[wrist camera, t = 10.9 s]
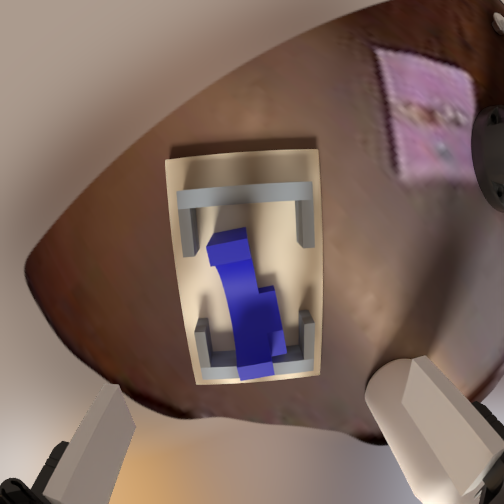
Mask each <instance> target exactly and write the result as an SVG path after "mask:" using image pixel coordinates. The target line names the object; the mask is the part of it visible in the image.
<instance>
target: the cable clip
mask: <svg viewBox="0 0 504 504" xmlns="http://www.w3.org/2000/svg"><path fill="white" fill-rule="evenodd" d="M206 250H207V254H208V258H209V263H210V267H212V266H215V267H216V269H217V271H218V273H219V276H220V279H221V282H222V285H223V288H224V292H225V296H226V299H227V304H228V308H229V313H230V318H231V323H232V328H233V335H234V341H235V349H236V360H237V371H238V374H239V378H240V381H244V380H250V379H256V378H261V377H267V376H272V375H275V373H274V368H273V362H272V356H277V355H282V354H287V350H286V344H285V338H284V332H283V327H282V323H281V318H280V313H279V308H278V303H277V297H276V292H275V288H274V285H271V286H266V287H261V288H258V286H257V281H256V276H255V271H254V266H253V261H252V256H251V251H250V246H249V241H248V236H247V231H246V227H242V228H237V229H232V230H227V231H222V232H217V233H213V235H212V237H211V238H210V240H209V242H208V244H207V246H206Z"/></svg>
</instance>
